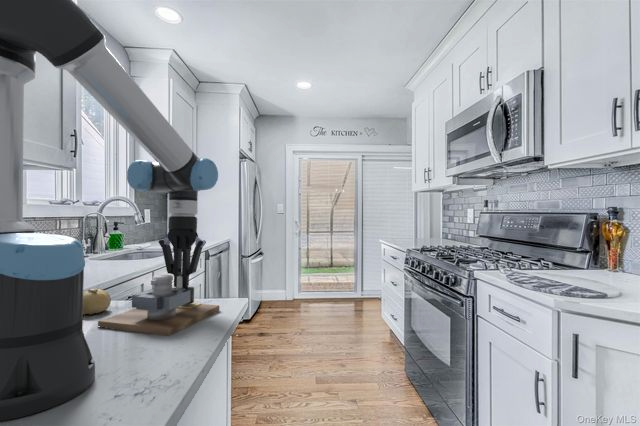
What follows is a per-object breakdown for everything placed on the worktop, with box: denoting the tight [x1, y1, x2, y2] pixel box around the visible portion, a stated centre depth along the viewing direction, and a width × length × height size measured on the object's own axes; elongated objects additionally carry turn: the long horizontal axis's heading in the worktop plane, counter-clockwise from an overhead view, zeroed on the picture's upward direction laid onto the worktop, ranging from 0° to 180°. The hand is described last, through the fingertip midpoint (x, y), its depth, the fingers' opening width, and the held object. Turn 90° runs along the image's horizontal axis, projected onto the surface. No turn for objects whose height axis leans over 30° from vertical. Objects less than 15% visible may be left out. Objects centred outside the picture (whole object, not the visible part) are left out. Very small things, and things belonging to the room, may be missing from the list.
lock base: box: [97, 274, 220, 337], centre depth 84 cm, size 20×20×12 cm
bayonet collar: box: [131, 286, 195, 311], centre depth 84 cm, size 17×10×5 cm, turn 167°
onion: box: [83, 287, 112, 315], centre depth 89 cm, size 8×8×7 cm
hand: (181, 298), depth 92 cm, fingers closed
